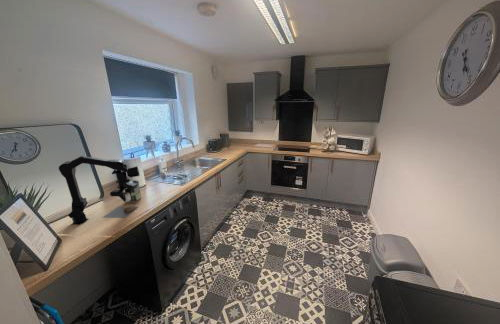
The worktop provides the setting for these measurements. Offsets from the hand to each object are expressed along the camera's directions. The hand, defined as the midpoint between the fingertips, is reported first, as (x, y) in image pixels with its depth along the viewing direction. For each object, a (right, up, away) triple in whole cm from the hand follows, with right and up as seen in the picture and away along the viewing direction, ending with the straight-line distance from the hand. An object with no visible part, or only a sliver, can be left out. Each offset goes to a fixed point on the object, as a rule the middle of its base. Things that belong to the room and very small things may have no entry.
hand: (127, 199), depth 131 cm
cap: (0, -1, 0) cm, 1 cm away
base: (0, -8, +2) cm, 8 cm away
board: (-4, -9, 0) cm, 10 cm away
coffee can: (-6, -4, +19) cm, 20 cm away
